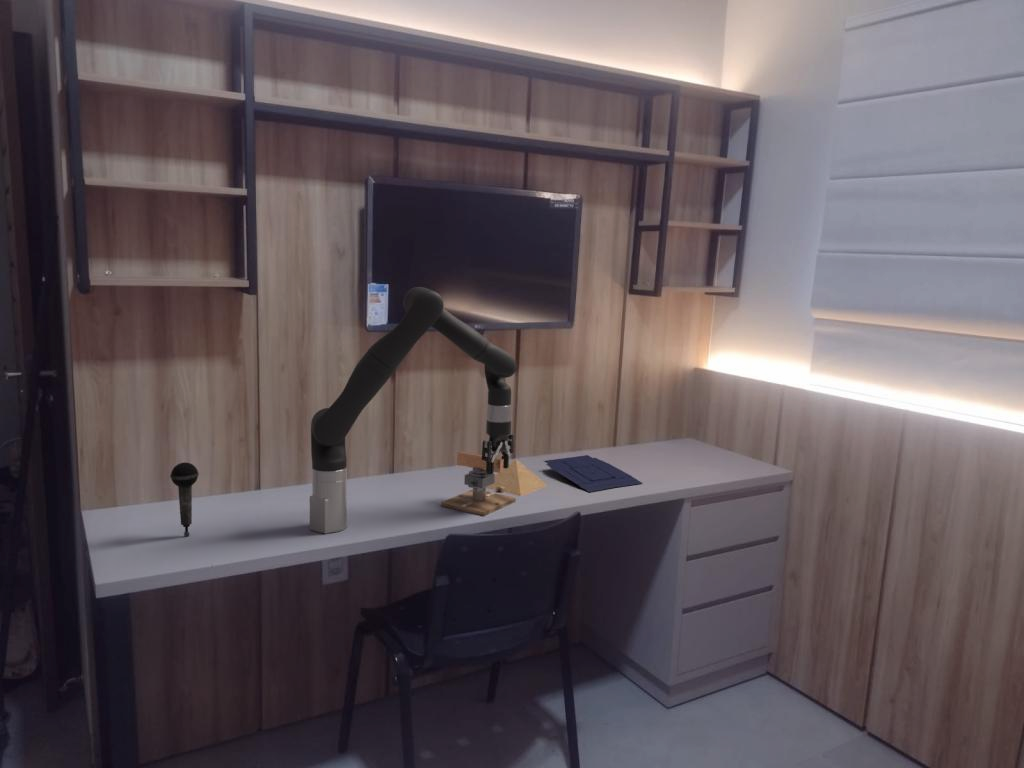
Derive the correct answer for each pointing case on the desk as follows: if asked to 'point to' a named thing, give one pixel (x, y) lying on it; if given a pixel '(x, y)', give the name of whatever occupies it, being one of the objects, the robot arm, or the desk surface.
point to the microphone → (185, 490)
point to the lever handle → (478, 469)
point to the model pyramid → (516, 480)
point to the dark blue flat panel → (591, 473)
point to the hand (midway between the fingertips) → (497, 470)
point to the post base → (478, 501)
